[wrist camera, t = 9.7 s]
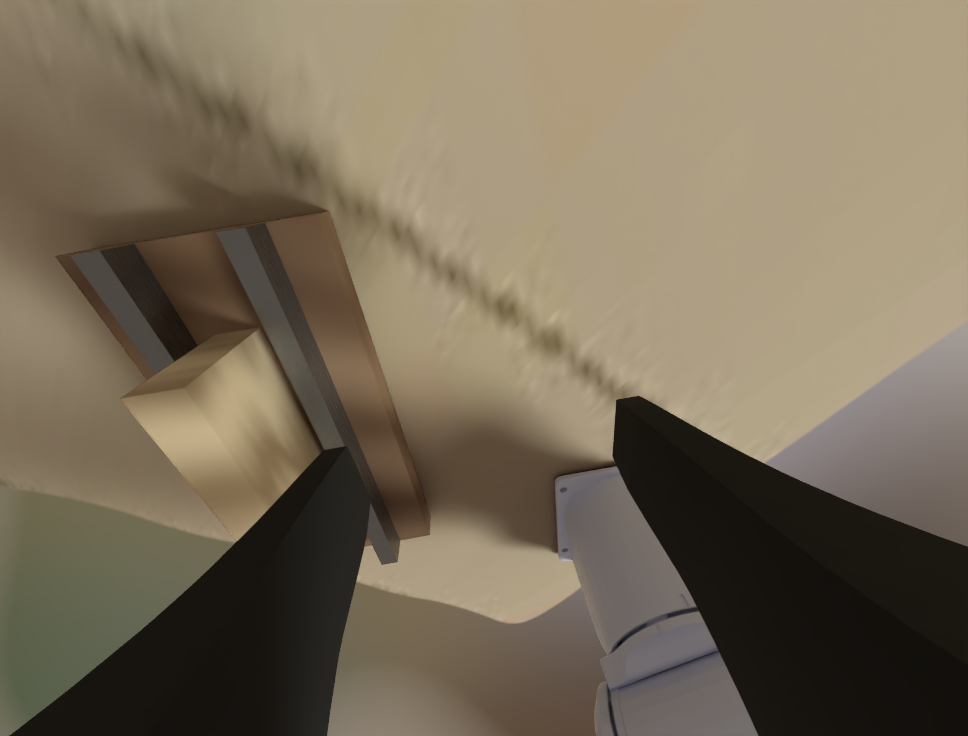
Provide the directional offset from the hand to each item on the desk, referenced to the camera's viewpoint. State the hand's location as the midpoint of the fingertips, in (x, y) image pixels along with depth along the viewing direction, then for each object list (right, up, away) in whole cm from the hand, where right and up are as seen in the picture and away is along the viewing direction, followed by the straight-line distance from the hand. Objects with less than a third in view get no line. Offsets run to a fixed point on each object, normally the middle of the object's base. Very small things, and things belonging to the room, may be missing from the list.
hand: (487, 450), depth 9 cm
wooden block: (-10, 0, +8) cm, 13 cm away
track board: (-10, -1, +10) cm, 14 cm away
